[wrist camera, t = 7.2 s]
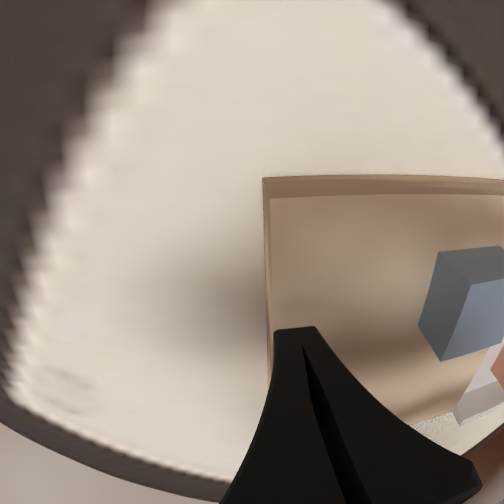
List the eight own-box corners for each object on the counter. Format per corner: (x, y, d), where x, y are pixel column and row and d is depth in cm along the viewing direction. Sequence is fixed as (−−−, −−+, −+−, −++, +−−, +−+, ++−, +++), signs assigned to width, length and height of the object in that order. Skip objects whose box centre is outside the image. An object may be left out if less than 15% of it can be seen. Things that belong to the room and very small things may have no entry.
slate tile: (476, 312, 14) (500, 343, 12) (417, 325, 14) (440, 362, 12) (499, 245, 12) (531, 272, 10) (438, 251, 12) (471, 284, 10)
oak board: (440, 388, 21) (452, 411, 19) (268, 422, 21) (272, 452, 18) (513, 180, 13) (543, 197, 11) (262, 177, 13) (269, 198, 10)
